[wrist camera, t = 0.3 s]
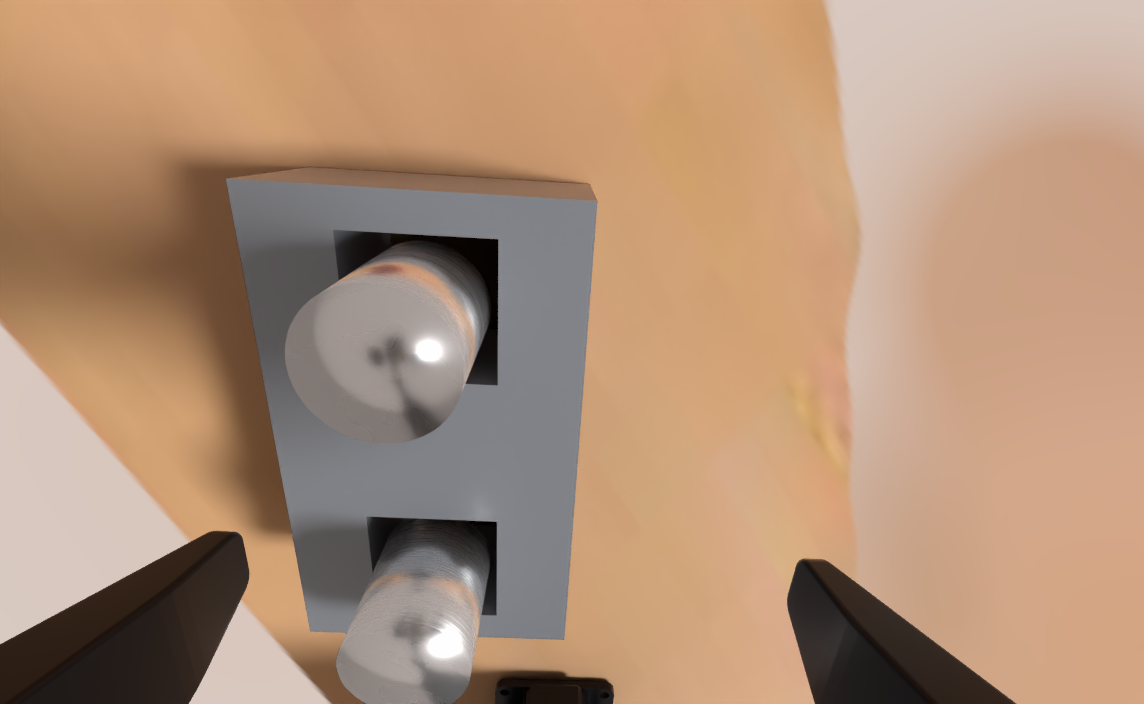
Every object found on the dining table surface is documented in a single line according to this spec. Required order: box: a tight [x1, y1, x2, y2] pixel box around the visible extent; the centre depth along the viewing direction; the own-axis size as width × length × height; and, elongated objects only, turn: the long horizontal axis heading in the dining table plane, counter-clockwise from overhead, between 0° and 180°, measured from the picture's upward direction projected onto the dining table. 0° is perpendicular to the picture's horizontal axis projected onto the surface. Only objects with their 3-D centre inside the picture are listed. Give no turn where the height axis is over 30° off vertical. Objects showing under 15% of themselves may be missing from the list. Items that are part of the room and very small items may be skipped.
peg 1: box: [285, 240, 491, 444], centre depth 14 cm, size 4×4×5 cm
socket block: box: [226, 167, 597, 640], centre depth 20 cm, size 17×10×5 cm, turn 177°
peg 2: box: [336, 518, 491, 704], centre depth 18 cm, size 4×4×5 cm
